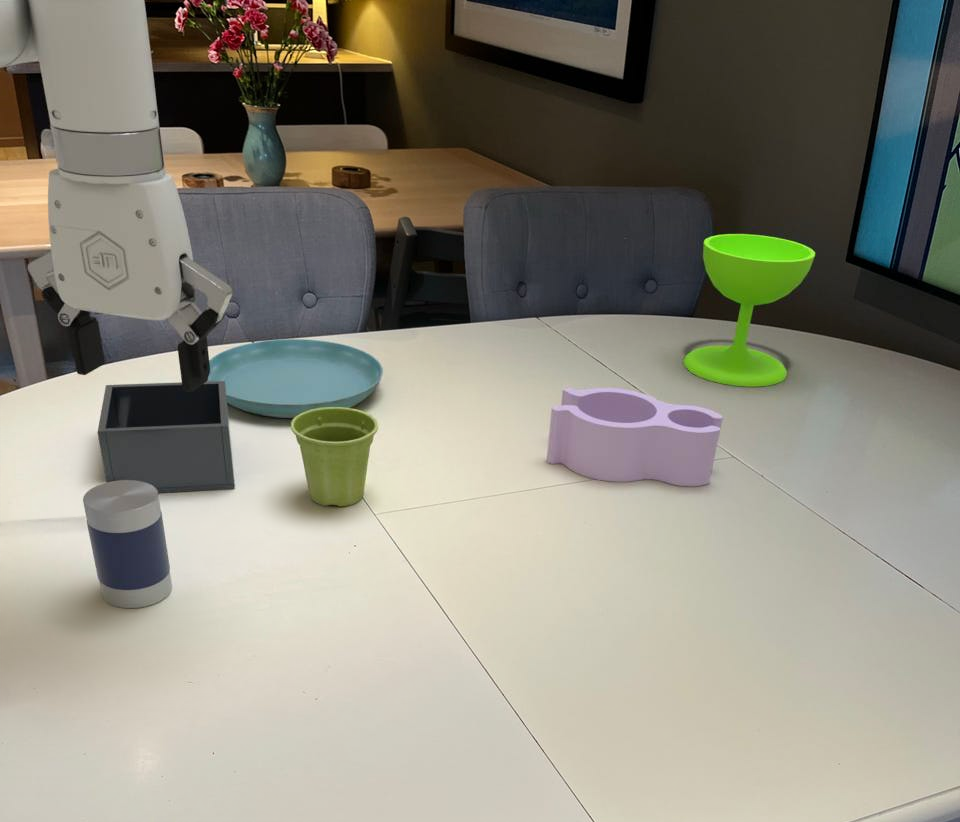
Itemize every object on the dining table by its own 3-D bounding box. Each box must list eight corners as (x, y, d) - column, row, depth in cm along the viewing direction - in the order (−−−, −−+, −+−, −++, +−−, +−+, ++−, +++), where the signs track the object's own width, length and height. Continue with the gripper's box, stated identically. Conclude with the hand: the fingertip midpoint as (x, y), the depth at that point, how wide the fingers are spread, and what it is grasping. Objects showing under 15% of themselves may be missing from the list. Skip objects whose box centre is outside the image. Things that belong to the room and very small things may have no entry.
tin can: (98, 611, 91) (79, 515, 85) (103, 575, 96) (85, 481, 90) (172, 605, 92) (157, 510, 87) (173, 569, 97) (159, 477, 92)
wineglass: (718, 390, 146) (743, 264, 135) (664, 354, 158) (683, 236, 147) (808, 381, 151) (838, 259, 140) (748, 347, 163) (772, 232, 152)
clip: (715, 456, 126) (725, 404, 122) (706, 497, 116) (717, 443, 112) (562, 431, 130) (567, 380, 126) (541, 470, 120) (546, 416, 116)
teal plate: (169, 388, 135) (166, 364, 134) (304, 349, 151) (303, 328, 149) (283, 442, 123) (282, 417, 121) (418, 394, 138) (419, 371, 136)
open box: (108, 496, 109) (97, 431, 105) (116, 445, 120) (105, 384, 116) (234, 488, 112) (228, 425, 108) (230, 439, 123) (225, 380, 119)
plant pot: (395, 496, 113) (396, 425, 108) (332, 523, 107) (329, 449, 102) (341, 470, 118) (339, 400, 113) (277, 494, 112) (272, 421, 107)
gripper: (-27, 149, 71) (24, 378, 81) (192, 174, 68) (217, 409, 78) (37, 134, 77) (77, 350, 87) (240, 157, 74) (258, 377, 84)
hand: (143, 377), depth 83 cm, fingers open, 9 cm apart
